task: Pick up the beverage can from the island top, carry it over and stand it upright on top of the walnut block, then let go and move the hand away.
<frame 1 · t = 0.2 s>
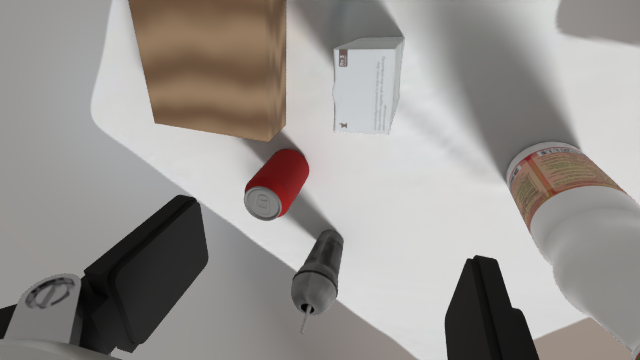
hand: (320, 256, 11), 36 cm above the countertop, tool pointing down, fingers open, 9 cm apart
skincare box: (379, 67, 42), on the countertop
beverage cup: (331, 239, 59), on the countertop
walnut block: (228, 58, 47), on the countertop
beverage can: (291, 165, 53), on the countertop
fruit juice: (543, 171, 43), on the countertop
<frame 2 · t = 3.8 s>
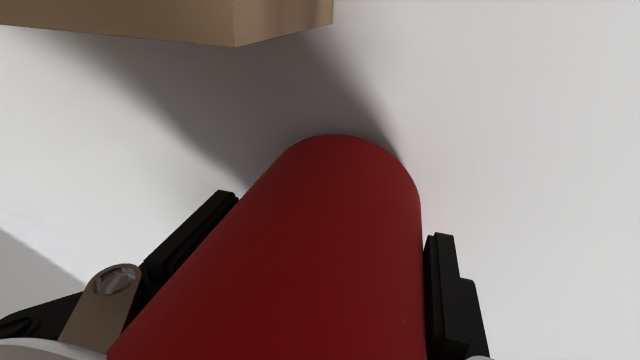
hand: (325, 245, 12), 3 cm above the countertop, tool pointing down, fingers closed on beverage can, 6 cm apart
beverage can: (343, 196, 14), on the countertop, touching gripper
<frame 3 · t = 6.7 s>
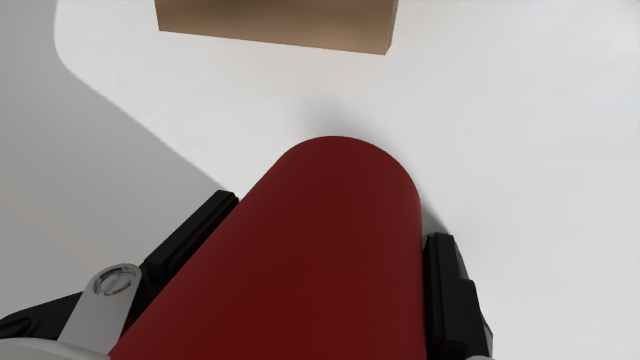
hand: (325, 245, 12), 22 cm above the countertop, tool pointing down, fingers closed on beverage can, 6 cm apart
beverage cup: (436, 247, 37), on the countertop
beverage can: (343, 197, 15), point 19 cm above the countertop, touching gripper
when the fingers open (11 cm above the countertop, at t = 9.7 s): beverage can drops 1 cm, resting on walnut block.
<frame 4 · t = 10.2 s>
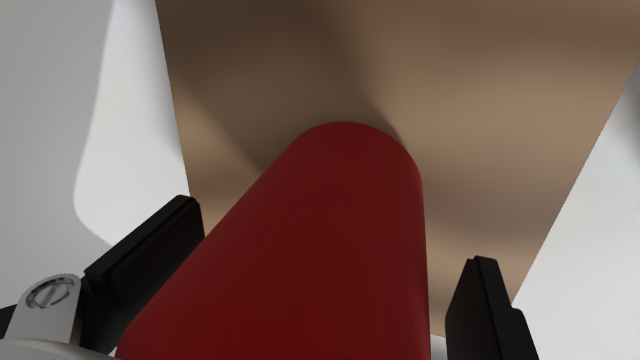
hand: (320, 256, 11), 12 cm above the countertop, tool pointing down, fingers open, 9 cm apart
walnut block: (366, 134, 21), on the countertop
beverage can: (350, 181, 15), point 7 cm above the countertop, touching walnut block
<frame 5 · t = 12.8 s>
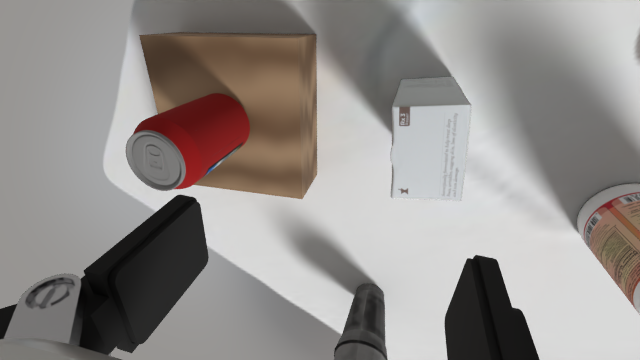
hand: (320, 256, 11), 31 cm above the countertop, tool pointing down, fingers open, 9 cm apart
skincare box: (423, 109, 38), on the countertop
beverage cup: (370, 293, 53), on the countertop
walnut block: (251, 106, 43), on the countertop
beverage can: (227, 120, 37), point 7 cm above the countertop, touching walnut block
fruit juice: (621, 215, 38), on the countertop
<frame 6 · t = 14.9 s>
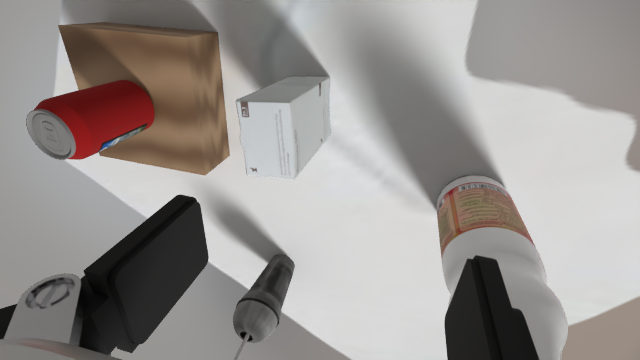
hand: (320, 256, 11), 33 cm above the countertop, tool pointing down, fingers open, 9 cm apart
skincare box: (310, 103, 44), on the countertop
beverage cup: (283, 263, 60), on the countertop
walnut block: (170, 92, 48), on the countertop
beverage can: (137, 103, 43), point 7 cm above the countertop, touching walnut block
fruit juice: (471, 202, 45), on the countertop
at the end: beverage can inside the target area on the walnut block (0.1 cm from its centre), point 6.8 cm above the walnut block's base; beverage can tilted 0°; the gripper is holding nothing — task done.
